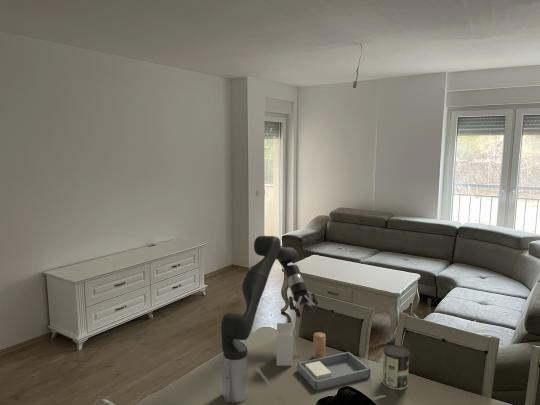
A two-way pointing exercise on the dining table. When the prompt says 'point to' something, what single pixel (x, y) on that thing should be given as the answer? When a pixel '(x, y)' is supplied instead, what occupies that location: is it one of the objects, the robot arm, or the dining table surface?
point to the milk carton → (284, 344)
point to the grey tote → (336, 370)
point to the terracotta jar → (319, 345)
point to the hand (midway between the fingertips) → (307, 315)
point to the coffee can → (395, 367)
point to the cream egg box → (318, 370)
